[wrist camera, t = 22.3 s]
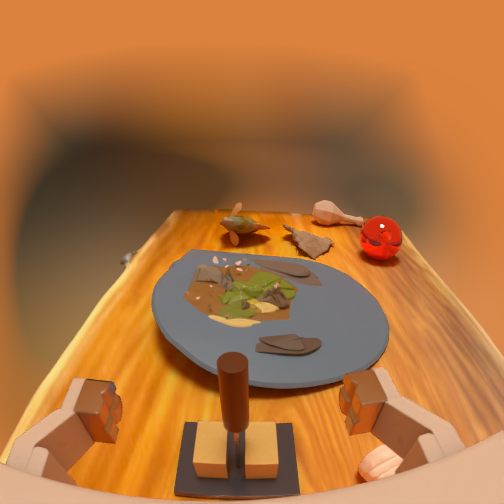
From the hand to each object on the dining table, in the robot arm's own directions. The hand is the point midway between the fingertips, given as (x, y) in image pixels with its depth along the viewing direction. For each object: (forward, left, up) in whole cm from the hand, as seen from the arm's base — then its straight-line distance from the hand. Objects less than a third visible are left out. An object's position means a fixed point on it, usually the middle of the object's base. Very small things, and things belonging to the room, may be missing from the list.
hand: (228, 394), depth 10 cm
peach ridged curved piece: (+16, +7, -28) cm, 33 cm away
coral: (+17, +78, -28) cm, 85 cm away
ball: (+36, +69, -28) cm, 83 cm away
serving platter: (+5, +44, -28) cm, 53 cm away
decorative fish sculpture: (-1, +82, -28) cm, 87 cm away
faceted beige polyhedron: (+31, +96, -28) cm, 105 cm away
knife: (-1, +12, -27) cm, 29 cm away
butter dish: (-1, +12, -28) cm, 30 cm away
